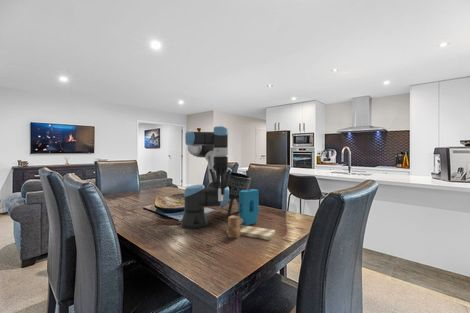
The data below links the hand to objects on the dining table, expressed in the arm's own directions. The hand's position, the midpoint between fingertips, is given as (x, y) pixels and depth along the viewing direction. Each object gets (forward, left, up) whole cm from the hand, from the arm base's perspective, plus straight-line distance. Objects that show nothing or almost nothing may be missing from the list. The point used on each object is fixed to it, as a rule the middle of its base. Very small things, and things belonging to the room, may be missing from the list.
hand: (220, 200), depth 119 cm
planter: (-14, +39, -16) cm, 45 cm away
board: (+14, +8, -18) cm, 24 cm away
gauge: (+8, +4, -18) cm, 20 cm away
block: (+7, +23, -18) cm, 30 cm away
